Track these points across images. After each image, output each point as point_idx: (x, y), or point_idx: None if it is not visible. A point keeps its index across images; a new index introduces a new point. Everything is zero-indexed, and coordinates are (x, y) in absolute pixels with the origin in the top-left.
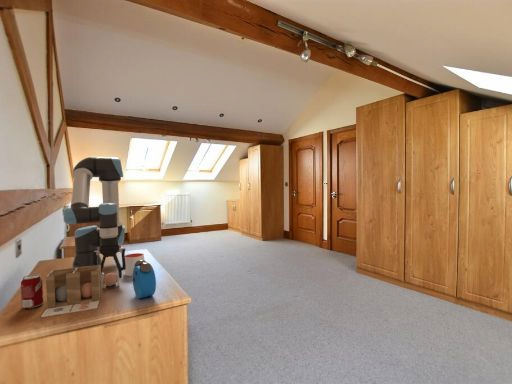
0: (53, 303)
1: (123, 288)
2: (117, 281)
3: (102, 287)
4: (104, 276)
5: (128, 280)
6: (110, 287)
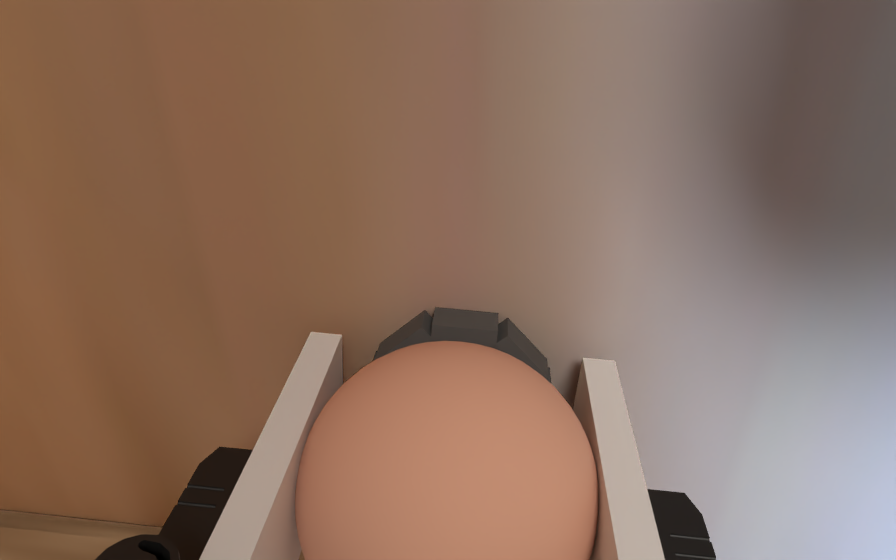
0: None
1: None
2: None
3: None
4: (304, 551)
5: (847, 134)
6: None
